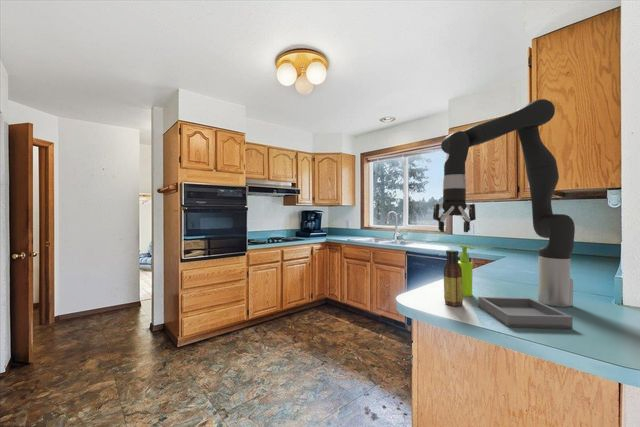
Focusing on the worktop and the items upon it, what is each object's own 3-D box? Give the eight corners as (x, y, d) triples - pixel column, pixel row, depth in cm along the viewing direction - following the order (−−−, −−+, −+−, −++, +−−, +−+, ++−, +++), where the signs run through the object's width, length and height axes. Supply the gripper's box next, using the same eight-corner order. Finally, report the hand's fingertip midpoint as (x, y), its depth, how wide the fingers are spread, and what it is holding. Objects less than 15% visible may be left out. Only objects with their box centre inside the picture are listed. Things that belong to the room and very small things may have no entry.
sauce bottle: (459, 301, 107) (459, 249, 107) (465, 307, 101) (466, 251, 101) (441, 301, 108) (441, 248, 108) (446, 306, 102) (447, 251, 101)
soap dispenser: (468, 297, 112) (468, 247, 112) (453, 293, 118) (453, 245, 118) (477, 295, 115) (478, 246, 115) (462, 291, 121) (462, 244, 121)
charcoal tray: (530, 307, 101) (530, 298, 101) (572, 328, 83) (572, 317, 83) (478, 306, 102) (478, 296, 102) (508, 327, 84) (508, 315, 84)
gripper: (469, 188, 107) (469, 231, 107) (431, 188, 108) (430, 231, 108) (479, 187, 100) (478, 233, 100) (437, 187, 101) (437, 232, 101)
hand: (453, 232), depth 104 cm, fingers open, 8 cm apart
